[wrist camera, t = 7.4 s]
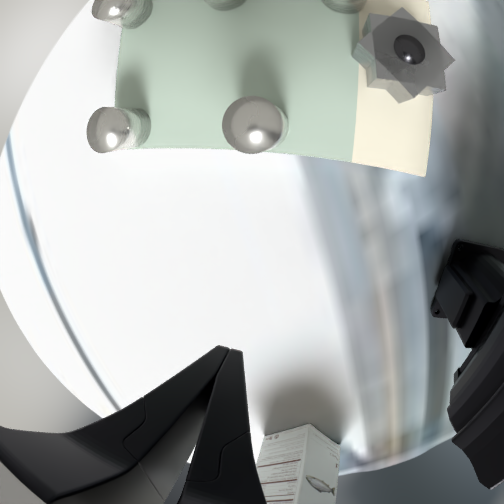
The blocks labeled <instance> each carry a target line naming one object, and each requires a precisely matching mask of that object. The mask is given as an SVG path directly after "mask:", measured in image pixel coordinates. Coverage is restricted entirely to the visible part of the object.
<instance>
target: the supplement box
mask: <svg viewBox="0 0 504 504" xmlns="http://www.w3.org/2000/svg"><path fill="white" fill-rule="evenodd" d="M339 460H340V445H338V444H336V443H335V442H333V441H332V440H330V439H329V438H328V437H326V436H325V435H324V434H322V433H321V432H320V431H318V430H317V429H316V428H315V427H314V426H313V425H311V424H306V425H303V426H299V427H296V428H293V429H289V430H285V431H282V432H278V433H274V434H270V435H267V436H264V439H263V443H262V446H261V450H260V454H259V457H258V461H257V464H256V469H257V472H258V476H259V479H260V483H261V486H262V489H263V492H264V496H265V499H266V502H267V504H335V501H336V492H337V483H338V472H339Z"/></svg>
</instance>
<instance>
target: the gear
mask: <svg viewBox="0 0 504 504" xmlns="http://www.w3.org/2000/svg"><path fill="white" fill-rule="evenodd" d="M362 35H363V38H362V39H361V40H360V41H359V42H358V43H357V46H356V48H355V50H354V53H353V55H352V58H354V59H355V60H356V61H357V62H358V63H359V64H360V65H361V66H362V67H363V68H364V69H366V76H367V87H368V88H378V89H386V90H387V91H388V93H389V94H390V95H391V96H392V97H393V98H394V99H395V100H396V101H397V102H398V103H402V102H405V101H408V100H411V99H413V98H415V97H416V96H417V95H418V94H419V95H424V96H429V95H432V94H435V93H438V92H442V91H445V90H446V85H445V75H444V70H445V69H446V68H447V67H448V66H449V65H450V64H452V63H453V62H454V61H455V60H454V59H453V58H452V56H451V55H450V54H449V53H448V52H447V51H446V49H445V48H444V47H443V46H442V45H441V44H440V38H439V33H438V28H437V26H434V25H430V24H426V23H422V22H418V21H417V20H416V19H415V18H414V17H413V16H412V15H411V14H410V13H409V12H407V11H406V10H405V9H404V8H403V7H402V8H400V9H399V10H398V11H396V12H395V13H394V14H392V15H391V16H387V15H380V14H373V13H369V15H368V17H367V20H366V22H365V24H364V27H363V29H362Z"/></svg>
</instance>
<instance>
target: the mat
mask: <svg viewBox="0 0 504 504" xmlns="http://www.w3.org/2000/svg"><path fill="white" fill-rule="evenodd" d="M151 2H152V4H153V10H152V13H151V15H150V17H149V18H148V19H147V21H146V22H145V23H143V24H142V25H141V26H139V27H137V28H135V29H125V28H123V27H122V33H121V40H120V48H119V56H118V66H117V77H116V91H115V107H122V108H140V109H142V110H144V111H145V112H146V113H147V114H148V115H149V117H150V120H151V132H150V135H149V137H148V139H147V140H146V142H145V143H144V144H143V145H141V146H139V147H136V148H129V149H148V148H202V149H229V150H236V149H234V148H233V147H232V146H231V145H230V144H229V143H228V142H227V140H226V139H225V137H224V134H223V131H222V119H223V116H224V113H225V111H226V110H227V108H228V107H229V106H230V105H231V104H232V103H233V102H234V101H236V100H237V99H239V98H242V97H245V96H258V97H262V98H265V99H266V100H268V101H270V102H271V103H273V104H274V105H275V106H277V107H278V108H280V109H281V110H282V111H283V112H284V114H285V115H286V117H287V119H288V124H289V130H288V134H287V137H286V139H285V140H284V141H283V143H282V144H280V145H279V146H278V147H276V148H274V149H271V150H267V151H264V152H273V153H283V154H293V155H302V156H310V157H318V158H326V159H333V160H339V161H346V162H352V163H358V164H364V165H370V166H375V167H380V168H386V169H391V170H395V171H400V172H405V173H409V174H414V175H418V176H422V177H425V176H426V169H427V162H428V154H429V146H430V136H431V125H432V110H433V94H432V95H429V96H424V95H419V94H418V95H417V96H416V97H415V98H413V99H411V100H408V101H405V102H402V103H398V102H397V101H396V100H395V99H394V98H393V97H392V96H391V95H390V94H389V93H388V91H387V90H386V89H378V88H368V87H367V76H366V69H364V68H363V67H362V66H361V65H360V64H359V63H358V62H357V61H356V60H355V59H354V58H352V55H353V53H354V50H355V48H356V46H357V43H358V42H359V41H360V40H361V39H362V38H363V35H362V29H363V27H364V24H365V22H366V20H367V17H368V15H369V13H373V14H380V15H387V16H391V15H392V14H394V13H395V12H396V11H398V10H399V9H400V8H402V7H403V8H404V9H405V10H406V11H407V12H409V13H410V14H411V15H412V16H413V17H414V18H415V19H416V20H417V21H418V22H422V23H426V24H430V25H431V19H430V11H429V3H428V1H426V0H367V1H366V4H365V6H364V8H363V9H362V10H361V11H359V12H357V13H354V14H341V13H337V12H334V11H332V10H330V9H329V8H327V7H326V6H325V5H324V4H323V3H322V1H321V0H246V2H245V3H244V4H242V5H241V6H240V7H238V8H236V9H233V10H229V11H218V10H215V9H213V8H211V7H210V6H209V5H208V4H207V3H206V2H205V1H204V0H151Z"/></svg>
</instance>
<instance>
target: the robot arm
mask: <svg viewBox="0 0 504 504" xmlns="http://www.w3.org/2000/svg"><path fill="white" fill-rule="evenodd" d="M460 244H461V247H460V248H459V249H458V246H459V245H460ZM435 296H436V298H435V300H434V303H433V305H432V308H431V314H432V316H433V317H438V318H448V320H449V322H450V324H451V326H452V328H456V330H457V332H458V334H459V336H460V338H461V340H462V342H463V344H464V346H465V347H466V348H471V349H472V351H471V352H470V354H469V355H468V357H467V358H466V360H465V361H464V363H463V364H462V366H461V367H460V368H458V369H457V371H456V372H455V373H454V385H453V387H452V389H451V391H450V405H449V406H448V408H447V411H448V415H449V419H450V422H451V424H452V426H453V428H454V430H455V432H456V433H457V434H456V435H455V436H454V437H453V438H452V442H453V443H454V444H455V445H457V446H458V447H459V448H460V449H462V450H463V451H464V453H465V454H466V455H467V457H468V458H469V459H470V461H471V463H472V465H473V467H474V470H475V472H476V475H477V477H478V480H479V482H480V483H482V484H483V485H484V486H485V487H487V488H488V489H493V488H495V487H496V486H498V485H499V484H501V483H502V482H504V249H501V248H497V247H493V246H489V245H484V244H480V243H475V242H471V241H466V240H462V239H458V240H456V241H455V242H454V244H453V247H452V251H451V254H450V257H449V260H448V263H447V266H446V267H445V269H444V272H443V275H442V278H441V281H440V283H439V286H438V289H437V292H436V294H435ZM438 309H439V310H438ZM436 310H438V311H437V312H435V311H436ZM196 443H197V444H196ZM195 445H196V447H195ZM194 447H195V451H194V454H193V457H192V461H191V464H190V468H189V471H188V475H187V478H186V482H185V485H184V488H183V491H182V494H181V496H180V499H179V501H178V503H177V504H267V502H266V499H265V496H264V492H263V489H262V486H261V483H260V479H259V476H258V472H257V469H256V464H255V460H254V456H253V449H252V443H251V433H250V424H249V414H248V404H247V394H246V383H245V372H244V361H243V352H242V351H240V350H236V349H229V348H228V347H224V346H220V345H218V346H216V347H215V348H213V349H212V350H211V351H209V352H208V353H206V354H205V355H203V356H202V357H201V358H199V359H198V360H196V361H195V362H194V363H192V364H191V365H189V366H188V367H186V368H185V369H183V370H182V371H180V372H179V373H178V374H176V375H175V376H173V377H172V378H170V379H169V380H167V381H166V382H164V383H163V384H161V385H160V386H158V387H157V388H155V389H154V390H152V391H151V392H149V393H148V394H146V395H144V398H143V397H141V398H140V399H138V400H137V401H135V402H133V403H132V404H130V405H128V406H127V407H125V408H123V409H121V410H119V411H117V412H115V413H113V414H111V415H109V416H107V417H105V418H103V419H101V420H98V421H96V422H94V423H91V424H89V425H87V426H84V427H82V428H80V429H77V430H74V431H71V432H66V433H45V432H32V431H23V430H15V429H9V428H4V427H2V426H0V504H164V501H165V500H166V498H167V496H168V495H169V493H170V491H171V489H172V488H173V486H174V484H175V482H176V480H177V478H178V477H179V475H180V473H181V471H182V469H183V468H184V466H185V464H186V462H187V460H188V458H189V456H190V455H191V453H192V451H193V449H194Z"/></svg>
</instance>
